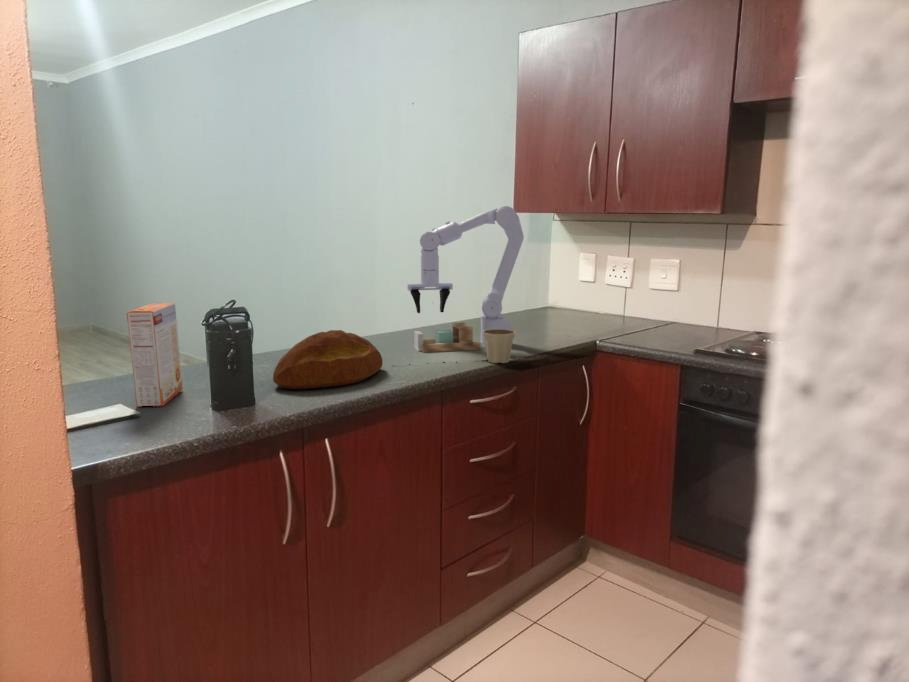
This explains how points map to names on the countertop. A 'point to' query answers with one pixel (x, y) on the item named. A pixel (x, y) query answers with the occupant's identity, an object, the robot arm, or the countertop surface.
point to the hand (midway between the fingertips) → (430, 312)
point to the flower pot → (498, 344)
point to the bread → (327, 361)
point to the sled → (418, 340)
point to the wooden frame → (454, 340)
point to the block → (443, 336)
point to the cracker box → (154, 353)
